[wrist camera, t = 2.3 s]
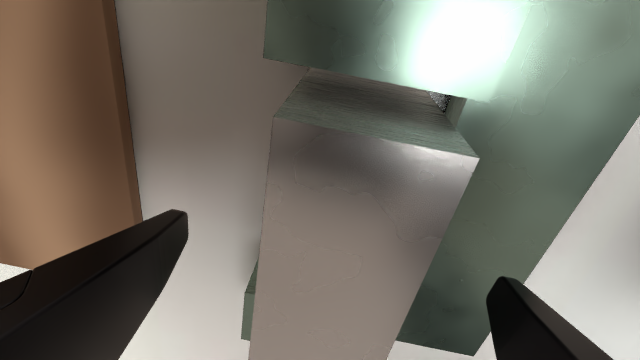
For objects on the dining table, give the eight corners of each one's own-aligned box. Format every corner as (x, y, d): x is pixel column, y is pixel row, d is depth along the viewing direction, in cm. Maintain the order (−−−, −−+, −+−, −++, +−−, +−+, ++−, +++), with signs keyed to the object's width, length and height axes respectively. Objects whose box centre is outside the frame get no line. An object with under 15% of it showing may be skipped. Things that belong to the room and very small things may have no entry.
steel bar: (423, 87, 11) (479, 158, 6) (368, 254, 15) (373, 386, 10) (312, 65, 11) (273, 117, 6) (286, 238, 15) (248, 360, 10)
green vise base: (780, -181, 7) (1010, -283, 5) (464, 328, 17) (484, 388, 14) (320, -269, 8) (299, -414, 5) (259, 286, 17) (241, 339, 14)
